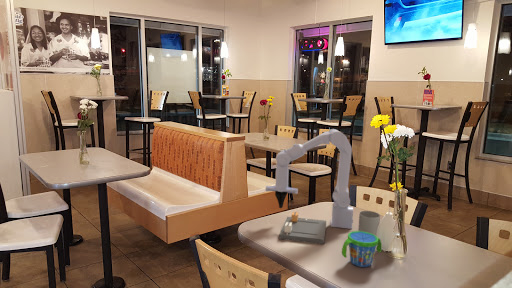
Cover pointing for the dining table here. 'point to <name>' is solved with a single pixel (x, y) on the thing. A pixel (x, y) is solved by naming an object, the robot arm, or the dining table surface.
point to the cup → (369, 222)
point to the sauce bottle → (386, 230)
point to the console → (305, 230)
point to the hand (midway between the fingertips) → (281, 207)
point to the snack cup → (361, 247)
